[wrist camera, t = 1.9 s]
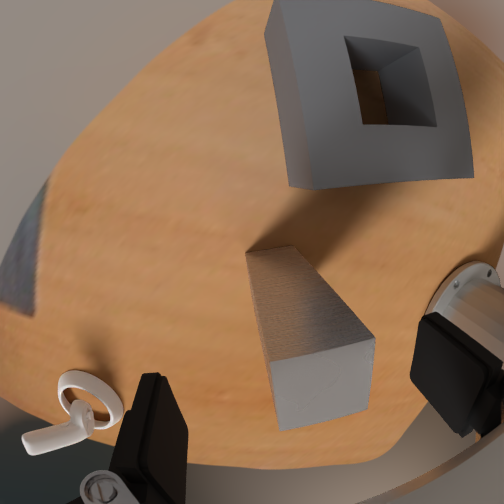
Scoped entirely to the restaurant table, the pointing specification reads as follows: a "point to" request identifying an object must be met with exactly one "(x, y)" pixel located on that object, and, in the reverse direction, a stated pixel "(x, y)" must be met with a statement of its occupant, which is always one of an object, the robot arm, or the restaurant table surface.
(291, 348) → the steel post
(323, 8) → the well block
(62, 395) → the hook
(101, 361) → the restaurant table surface
